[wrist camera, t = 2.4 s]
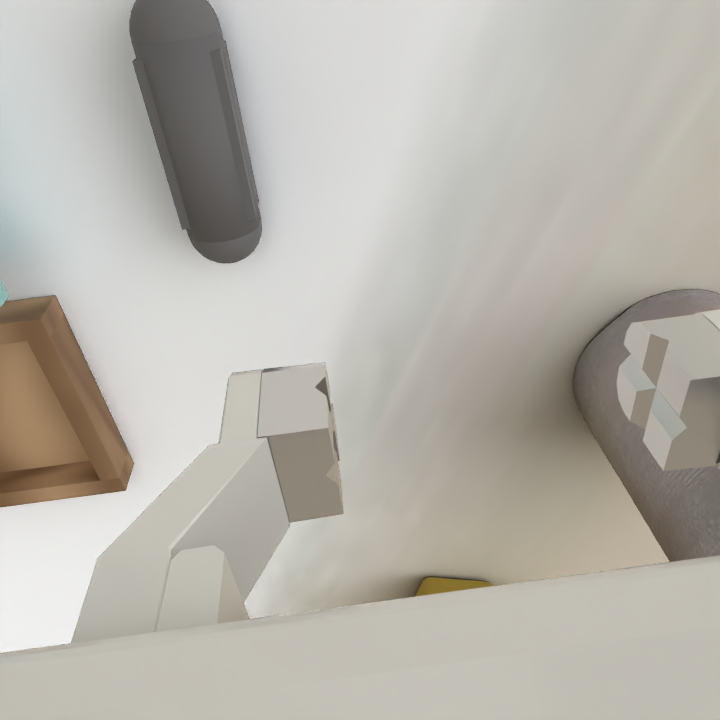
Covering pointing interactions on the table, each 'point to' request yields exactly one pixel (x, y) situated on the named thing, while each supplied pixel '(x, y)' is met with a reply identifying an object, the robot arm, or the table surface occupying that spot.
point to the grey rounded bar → (197, 124)
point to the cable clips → (3, 294)
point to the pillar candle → (625, 439)
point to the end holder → (52, 412)
